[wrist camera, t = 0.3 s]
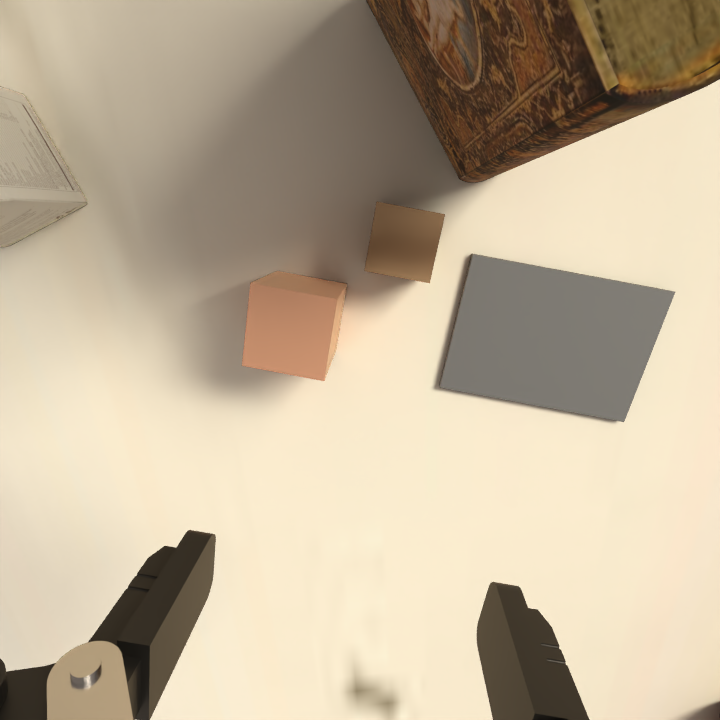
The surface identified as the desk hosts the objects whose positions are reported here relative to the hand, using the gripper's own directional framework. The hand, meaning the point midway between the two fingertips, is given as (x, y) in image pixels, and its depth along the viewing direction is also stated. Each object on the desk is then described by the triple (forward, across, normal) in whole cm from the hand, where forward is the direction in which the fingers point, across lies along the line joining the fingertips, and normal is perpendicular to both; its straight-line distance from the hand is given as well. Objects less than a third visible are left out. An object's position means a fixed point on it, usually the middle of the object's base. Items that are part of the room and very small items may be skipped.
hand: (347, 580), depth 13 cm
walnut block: (+29, -1, -9) cm, 30 cm away
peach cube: (+28, +6, -1) cm, 29 cm away
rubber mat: (+28, -15, -2) cm, 32 cm away
